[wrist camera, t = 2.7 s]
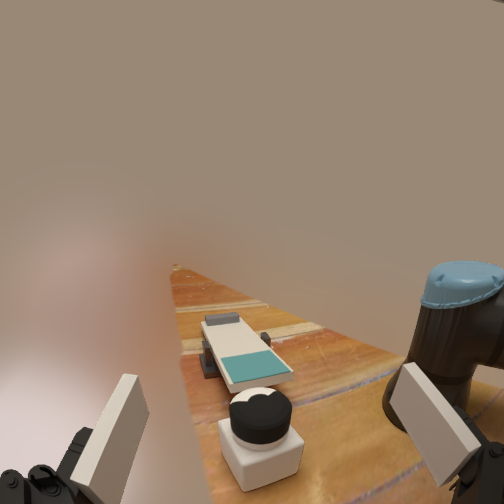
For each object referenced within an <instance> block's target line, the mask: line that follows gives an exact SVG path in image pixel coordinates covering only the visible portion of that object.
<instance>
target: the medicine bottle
mask: <svg viewBox="0 0 504 504" xmlns="http://www.w3.org/2000/svg"><path fill="white" fill-rule="evenodd" d="M229 412H230V418H227V419H223V420H219V421H218V428H219V435H220V443H221V450H222V454H223V456H224V458H225V460H226V462H227V464H228V466H229V468H230V470H231V471H232V473H233V475H234V477H235V479H236V481H237V482H238V484H239V486H240V488H241V489H242V491H243V492H247V491H250V490H253V489H256V488H259V487H262V486H265V485H267V484H270V483H273V482H275V481H278V480H280V479H283V478H285V477H288V476H290V475H293V474H295V473H297V471H298V468H299V464H300V460H301V456H302V452H303V448H304V443H305V442H304V440H303V439H302V438H301V437H300V436H299V434H298V433H297V432H296V431H295V430H294V429H293V427H292V426H291V425H290V420H291V413H292V405H291V403H290V401H289V399H288V398H287V397H286V396H285V395H283V394H282V393H280V392H279V391H277V390H274V389H270V388H264V387H257V388H251V389H247V390H244V391H242V392H241V393H239V394H237V395H236V396H235V397H234V398H233V399H232V401H231V403H230V406H229Z"/></svg>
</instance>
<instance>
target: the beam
mask: <svg viewBox="0 0 504 504" xmlns="http://www.w3.org/2000/svg"><path fill="white" fill-rule="evenodd" d="M201 329H202V331H203V334H204V336H205V338H206V341H208V343H209V346H210V350H211V352H212V354H213V357H214V359H215V361H216V363H217V365H218V368H219V370H220V372H221V374H222V376H223V378H224V381H225V383H226V385H227V387H228V389H229V391H230V393H237V392H242V391H244V390H247V389H251V388H257V387H267V386H271V385H275V384H280V383H284V382H288V381H292V380H294V371H293V370H292V369H291V368H290V367H289V366H288V365H287V364H286V363H285V362H284V361H283V360H282V359H281V358H280V357H279V356H278V355H277V354H276V353H275V352H274V351H273V350H272V349H271V348H270V347H269V346H268V345H267V344H266V343H265V342H264V341H263V340H262V339H261V338H260V337H259V336H258V335H257V334H256V333H255V332H254V331H253V330H252V329H251V328H250V327H249V326H248V325H247V324H246V323H245V322H244V321H243V320H242V319H241V318H240V317H239V315H238V314H237V313H236V312H232V313H224V314H216V315H207V316H205V322H201Z"/></svg>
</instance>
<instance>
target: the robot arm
mask: <svg viewBox="0 0 504 504" xmlns="http://www.w3.org/2000/svg"><path fill="white" fill-rule="evenodd" d="M494 1H498V2H502V3H504V0H494ZM478 364H479V365H484V366H489V367H494V368H498V369H503V370H504V270H503V269H502V268H501V267H499V266H497V265H494V264H487V263H485V262H478V261H452V262H446V263H442V264H440V265H438V266H436V267H434V268H433V269H432V270H431V271H430V273H429V275H428V277H427V281H426V286H425V290H424V294H423V295H422V297H421V309H420V313H419V317H418V321H417V325H416V329H415V332H414V336H413V339H412V343H411V346H410V350H409V353H408V356H407V358H406V360H405V361H404V362H403V364H402V365H401V366H400V368H399V369H398V370H397V371H396V373H395V374H394V375H393V377H392V378H391V379H390V381H389V382H388V384H387V387H386V390H385V392H384V395H383V408H384V411H385V413H386V415H387V416H388V418H389V419H390V420H391V421H392V422H393V423H394V424H395V425H396V426H397V427H399V428H400V429H402V430H404V431H406V432H407V433H408V434H409V436H410V438H411V439H412V441H413V443H414V445H415V446H416V448H417V450H418V451H419V453H420V455H421V457H422V459H423V460H424V462H425V464H426V466H427V467H428V469H429V471H430V473H431V475H432V476H433V478H434V480H435V482H436V484H437V486H438V487H441V486H443V485H445V484H447V483H448V482H450V481H452V480H453V478H454V477H455V476H456V475H457V474H458V476H459V477H460V478H459V479H458V480H457V481H456V482H455V483H454V484H453V485H452V486H451V487H450V489H449V491H451V490H452V489H453V488H454V487H455V486H456V487H455V489H454V495H453V499H452V502H451V504H504V445H502V444H501V443H499V442H491V443H490V442H489V441H488V440H487V439H486V437H485V436H484V435H483V433H482V432H481V431H480V430H479V428H478V427H477V426H476V425H475V423H473V421H472V420H471V418H469V416H468V415H467V414H466V412H465V411H466V408H467V405H468V399H469V394H470V387H471V380H472V376H473V374H474V371H475V369H476V367H477V365H478ZM148 416H149V411H148V407H147V405H146V401H145V398H144V395H143V391H142V388H141V384H140V381H139V377H138V375H131V374H123V376H122V378H121V379H120V382H119V383H118V385H117V387H116V389H115V391H114V392H113V394H112V396H111V398H110V400H109V402H108V403H107V405H106V407H105V409H104V411H103V413H102V415H101V417H100V419H99V420H98V422H97V424H96V426H95V428H94V429H90V428H87V427H83V428H82V429H81V430H80V431H79V432H77V433H76V435H75V436H74V438H73V440H72V443H71V444H70V446H69V448H68V450H67V451H66V453H65V455H64V457H63V459H62V461H61V463H60V465H59V467H58V469H57V471H56V472H55V471H54V470H53V469H52V468H51V467H50V466H47V465H36V466H34V467H33V468H32V469H31V470H30V471H29V473H28V478H24V477H23V476H22V475H21V474H20V473H19V472H18V471H16V470H12V469H10V470H6V471H4V472H3V473H2V474H1V477H0V504H120V502H121V499H122V495H123V492H124V489H125V485H126V482H127V479H128V476H129V473H130V470H131V466H132V463H133V460H134V457H135V454H136V451H137V448H138V445H139V442H140V439H141V437H142V433H143V430H144V428H145V425H146V422H147V419H148Z"/></svg>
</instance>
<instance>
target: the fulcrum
mask: <svg viewBox="0 0 504 504" xmlns="http://www.w3.org/2000/svg"><path fill="white" fill-rule="evenodd" d="M261 339H262V340H263V341H264V342H265V343H266V344H267V345H268V346H269V347H270V342H271V338H270V337H269V335H268V334H267V333H266V332H263V333H261ZM202 345H203V354H199V357H200V362H201V366H202V369H203V373H204V376H205V379H206V378H213V377H220V376H222V374H221V372H220V370H219V368H218V365H217V363H216V361H215V359H214V357H213V354H212V353H211V352H210V346H209V343H208V341H202Z"/></svg>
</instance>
